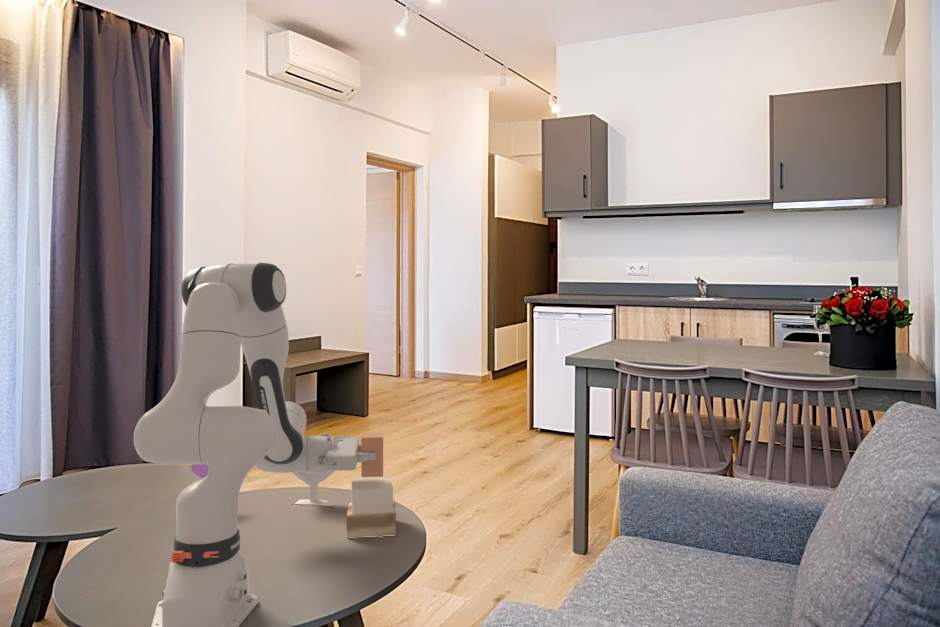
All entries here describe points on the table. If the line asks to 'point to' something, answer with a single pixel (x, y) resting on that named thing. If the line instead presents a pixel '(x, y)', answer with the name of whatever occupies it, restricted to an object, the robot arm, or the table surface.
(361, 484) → the tower top
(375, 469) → the terracotta block
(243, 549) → the table surface
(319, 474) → the heart sculpture
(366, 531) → the tower base
